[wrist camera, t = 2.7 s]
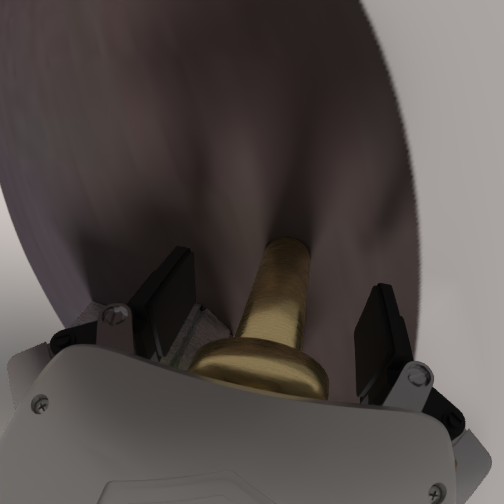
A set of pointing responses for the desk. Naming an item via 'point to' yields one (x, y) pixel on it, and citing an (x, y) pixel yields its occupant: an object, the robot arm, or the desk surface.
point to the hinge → (187, 341)
